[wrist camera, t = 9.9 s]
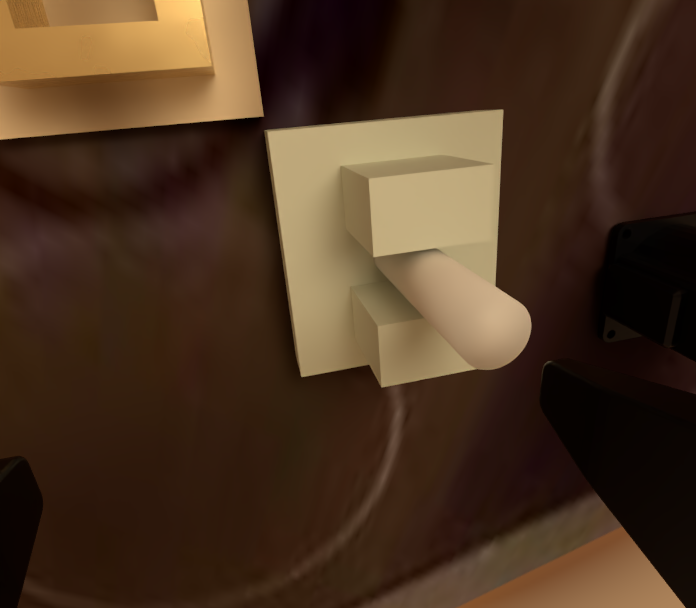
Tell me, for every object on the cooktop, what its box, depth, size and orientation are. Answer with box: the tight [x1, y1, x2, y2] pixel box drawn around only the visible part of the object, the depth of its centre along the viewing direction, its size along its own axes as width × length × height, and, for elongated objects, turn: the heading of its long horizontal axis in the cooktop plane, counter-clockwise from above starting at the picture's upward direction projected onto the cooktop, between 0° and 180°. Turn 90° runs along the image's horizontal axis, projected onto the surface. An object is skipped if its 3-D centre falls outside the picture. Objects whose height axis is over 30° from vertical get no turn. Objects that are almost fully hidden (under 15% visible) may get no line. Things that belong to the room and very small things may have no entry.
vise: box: [264, 110, 531, 388], centre depth 16 cm, size 9×10×10 cm
